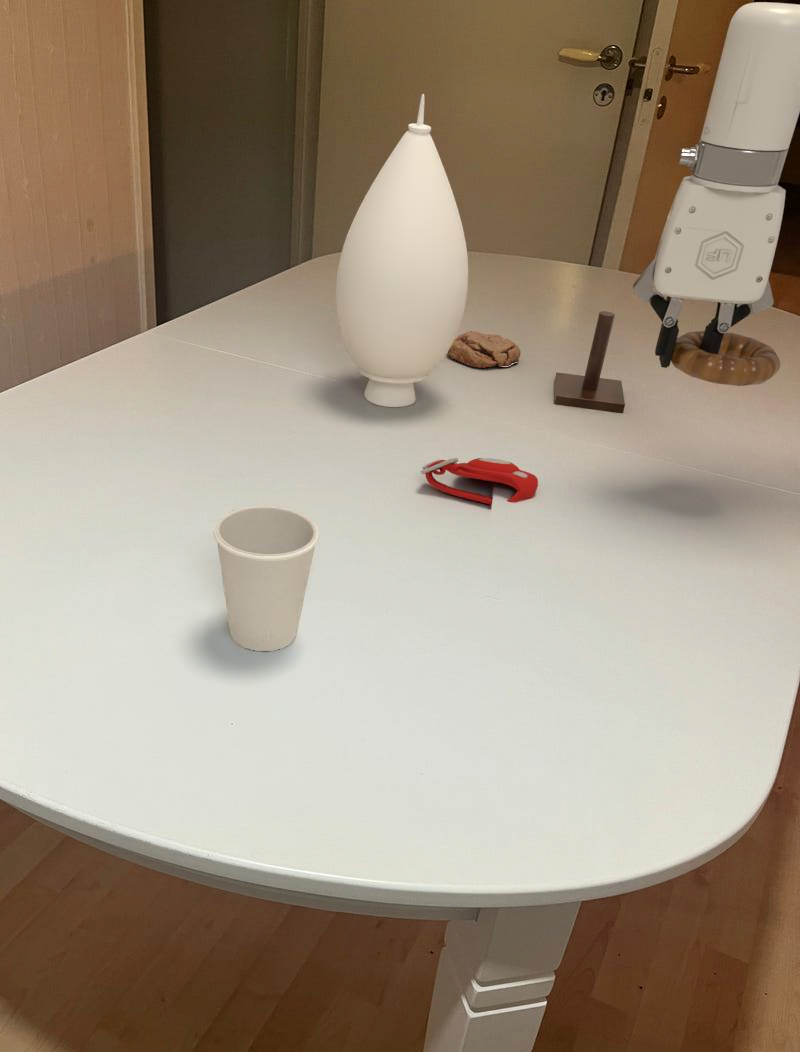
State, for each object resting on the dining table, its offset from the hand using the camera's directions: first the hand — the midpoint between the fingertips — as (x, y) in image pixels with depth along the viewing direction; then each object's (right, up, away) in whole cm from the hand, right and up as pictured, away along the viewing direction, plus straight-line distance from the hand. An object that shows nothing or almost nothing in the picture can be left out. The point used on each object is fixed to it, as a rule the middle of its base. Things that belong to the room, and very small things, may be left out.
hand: (682, 363), depth 97 cm
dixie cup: (-42, -28, -16) cm, 52 cm away
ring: (+4, 0, -1) cm, 4 cm away
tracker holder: (-20, -12, +9) cm, 24 cm away
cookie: (-13, +13, +43) cm, 47 cm away
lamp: (-28, +4, +29) cm, 40 cm away
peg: (0, +5, +33) cm, 34 cm away
